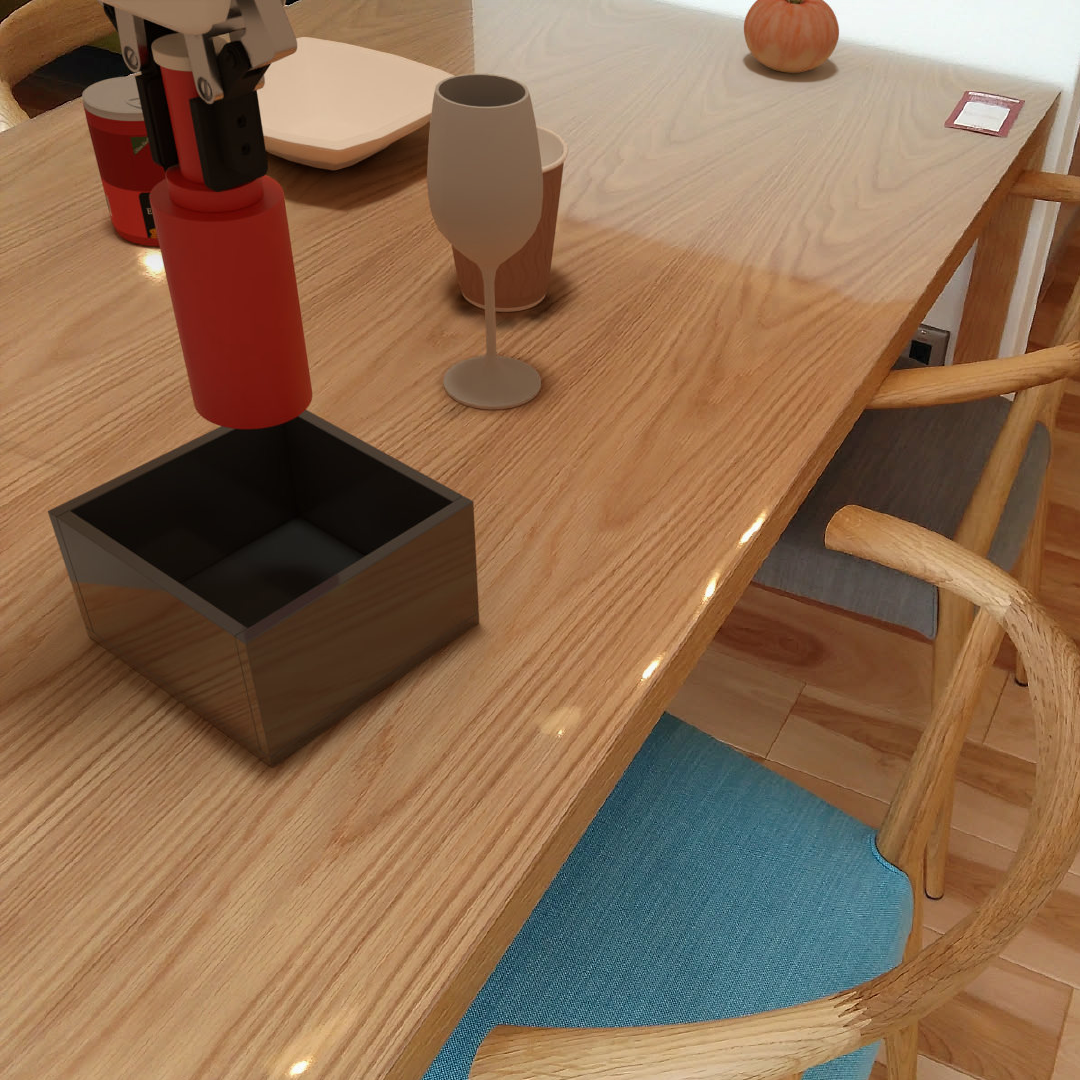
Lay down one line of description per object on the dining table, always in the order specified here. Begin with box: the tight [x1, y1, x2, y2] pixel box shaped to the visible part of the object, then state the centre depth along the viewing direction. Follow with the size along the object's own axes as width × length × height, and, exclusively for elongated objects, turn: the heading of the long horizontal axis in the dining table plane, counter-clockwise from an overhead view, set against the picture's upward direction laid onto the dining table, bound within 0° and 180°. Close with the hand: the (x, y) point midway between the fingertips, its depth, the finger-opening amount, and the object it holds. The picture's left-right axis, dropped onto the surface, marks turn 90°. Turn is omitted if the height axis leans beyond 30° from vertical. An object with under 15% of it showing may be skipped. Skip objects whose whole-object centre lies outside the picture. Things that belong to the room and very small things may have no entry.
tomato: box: [743, 0, 840, 74], centre depth 148 cm, size 11×11×8 cm
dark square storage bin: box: [47, 409, 480, 768], centre depth 73 cm, size 16×16×9 cm
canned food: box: [81, 75, 169, 248], centre depth 107 cm, size 8×8×11 cm
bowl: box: [257, 36, 455, 171], centre depth 123 cm, size 22×23×6 cm
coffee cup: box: [451, 124, 569, 313], centre depth 103 cm, size 10×10×12 cm
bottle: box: [149, 33, 313, 429], centre depth 63 cm, size 6×6×18 cm
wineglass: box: [426, 73, 543, 411], centre depth 90 cm, size 8×8×21 cm
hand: (211, 166), depth 60 cm, fingers closed on bottle, 2 cm apart
